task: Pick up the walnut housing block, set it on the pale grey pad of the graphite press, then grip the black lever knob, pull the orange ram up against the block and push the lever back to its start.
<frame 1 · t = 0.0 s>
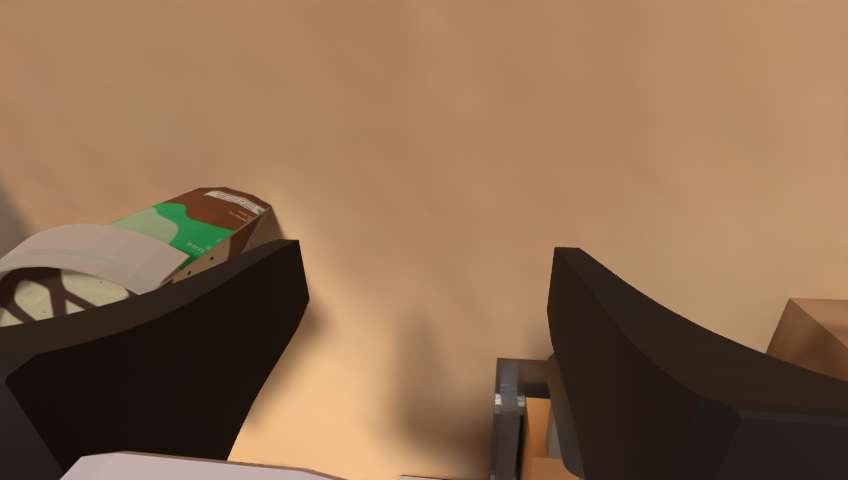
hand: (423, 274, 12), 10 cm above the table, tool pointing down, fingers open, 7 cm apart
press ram: (556, 478, 22), point 5 cm above the table, slide at 0.0 cm
food container: (195, 232, 24), on the table
housing: (818, 333, 22), on the table
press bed: (660, 449, 27), on the table
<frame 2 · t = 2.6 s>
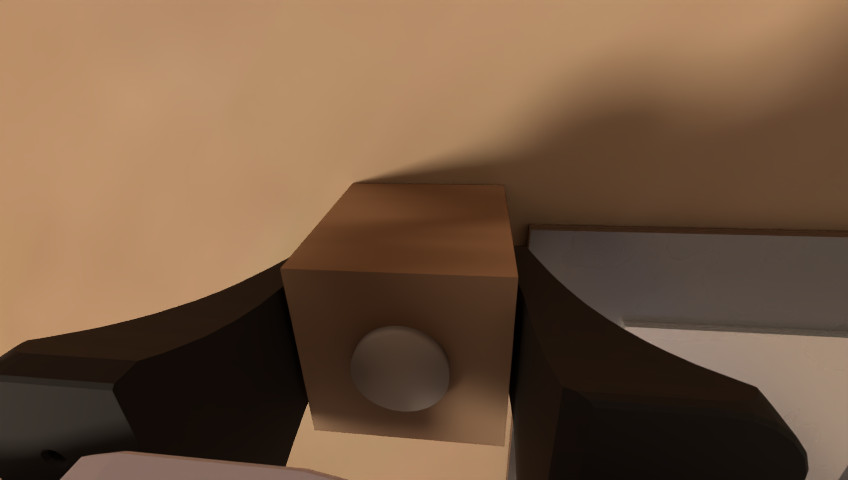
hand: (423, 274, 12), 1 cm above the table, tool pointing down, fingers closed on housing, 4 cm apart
housing: (428, 251, 13), on the table, touching gripper
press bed: (718, 412, 14), on the table
when the fingers open (4 cm above the table, at t = 6.2 s): housing drops 1 cm, resting on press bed.
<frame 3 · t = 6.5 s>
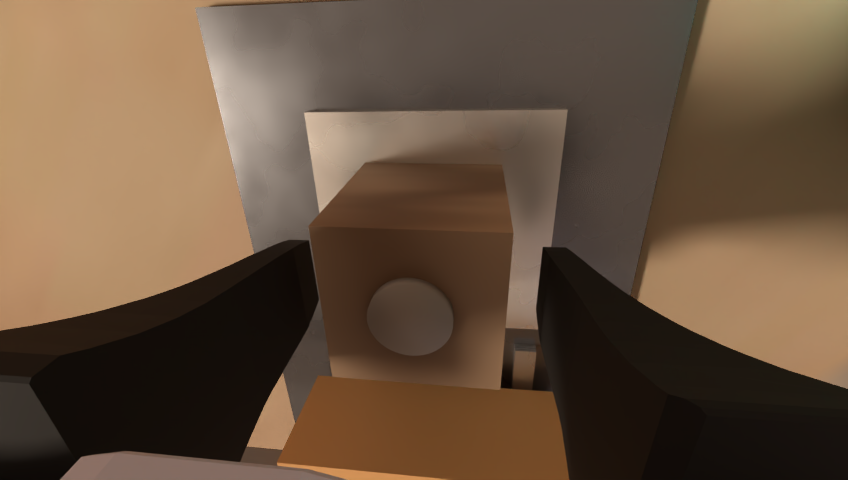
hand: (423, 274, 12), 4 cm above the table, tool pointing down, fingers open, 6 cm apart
housing: (432, 226, 14), point 1 cm above the table, touching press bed
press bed: (435, 222, 15), on the table
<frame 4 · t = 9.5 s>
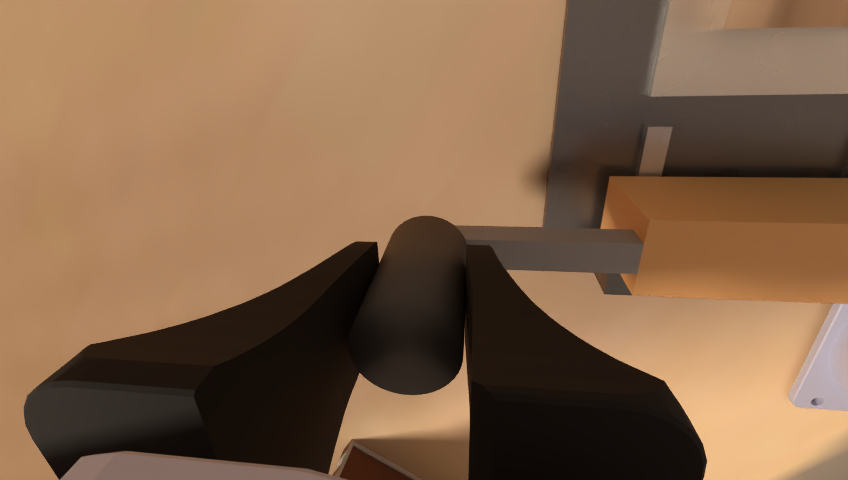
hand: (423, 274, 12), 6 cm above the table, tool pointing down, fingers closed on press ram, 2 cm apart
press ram: (690, 265, 12), point 5 cm above the table, slide at 0.0 cm, touching gripper
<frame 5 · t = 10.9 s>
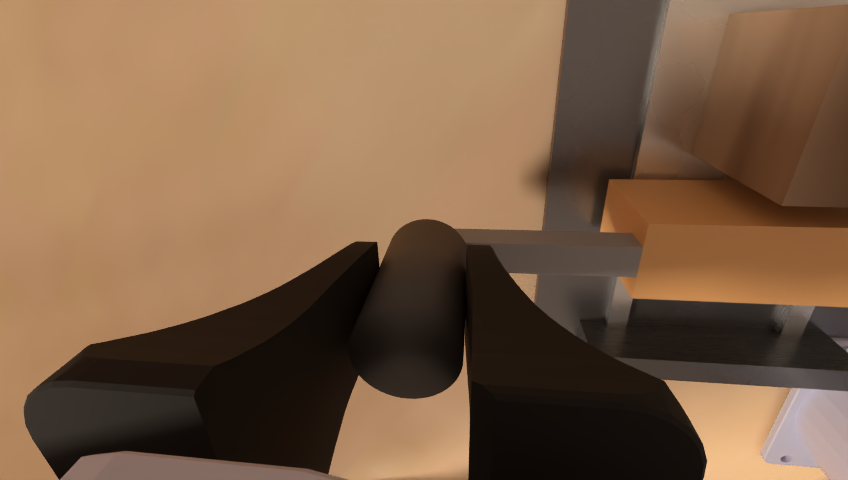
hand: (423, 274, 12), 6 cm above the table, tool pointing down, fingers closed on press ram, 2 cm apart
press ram: (689, 268, 12), point 5 cm above the table, slide at 3.9 cm, touching gripper
housing: (780, 88, 14), point 1 cm above the table, touching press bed
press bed: (766, 91, 14), on the table
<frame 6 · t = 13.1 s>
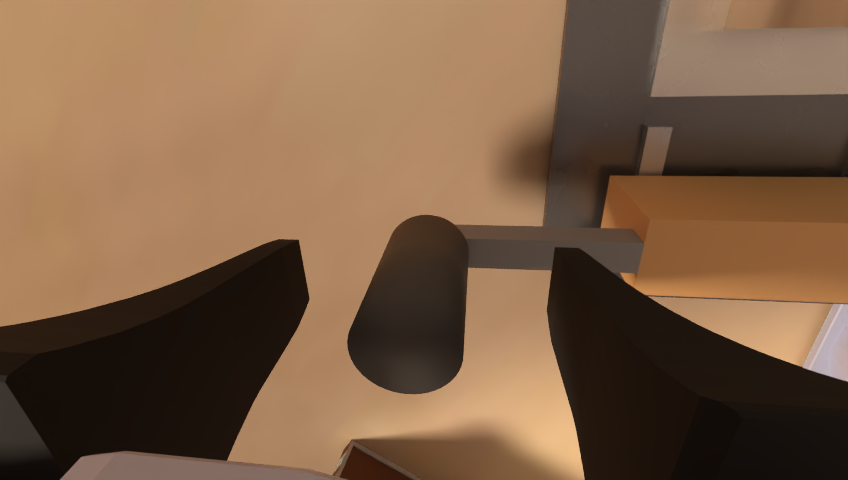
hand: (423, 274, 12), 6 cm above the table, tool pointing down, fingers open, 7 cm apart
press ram: (690, 264, 12), point 5 cm above the table, slide at 0.0 cm
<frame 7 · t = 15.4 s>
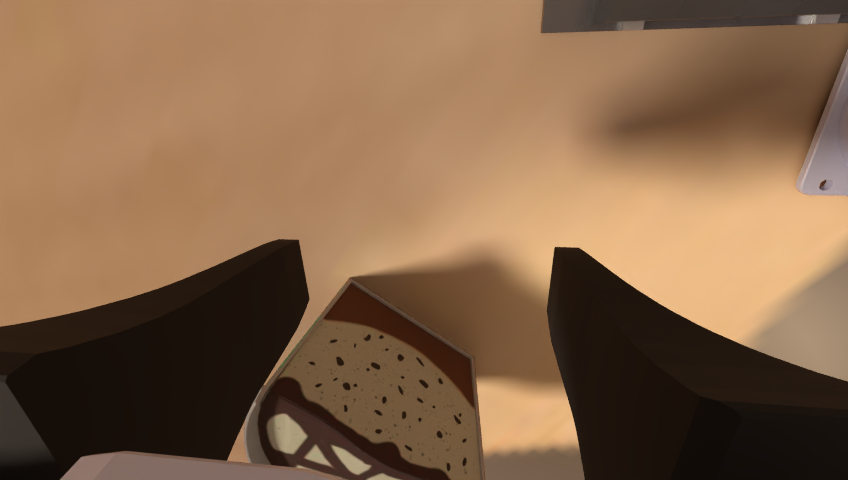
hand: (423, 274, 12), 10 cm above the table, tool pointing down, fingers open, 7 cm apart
food container: (388, 345, 27), on the table
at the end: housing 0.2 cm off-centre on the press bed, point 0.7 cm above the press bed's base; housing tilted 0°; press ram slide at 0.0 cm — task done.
